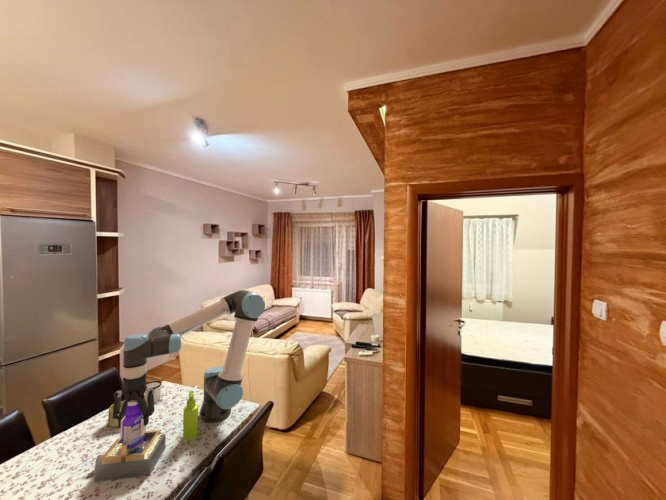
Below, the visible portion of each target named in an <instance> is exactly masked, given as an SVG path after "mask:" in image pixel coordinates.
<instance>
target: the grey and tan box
mask: <svg viewBox="0 0 666 500" xmlns="http://www.w3.org/2000/svg"><path fill="white" fill-rule="evenodd" d="M166 435H167V434H161V430H160V429H158V430H148V431H147V430H146V432H145V433H144V439H143V441H142V442H141V443H140V444H138V445H137V446H136V447H134V448H132V449H127V443H124V444H122V437H118V438H117V439H116V440H115V441H114V442H113V444H112V445H111V446H110V447H109V448H108V450H106V452H105V453H104V454H99V455H97V457H96V459H95V461H94V463H95V465H94V482H95V483H96V482H102V481H112V480H120V479H128V478H129V479H130V478H137V477H138V478H139V477H145V476H151V474H152V473H153V470H154V469H155V467H156V465H157V464H158V462H159V460H160V459H161V457H162V455H163V453H164V451H165V450H166V439H167V438H166V437H167V436H166Z"/></svg>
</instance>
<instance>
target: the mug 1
mask: <svg viewBox="0 0 666 500" xmlns="http://www.w3.org/2000/svg"><path fill="white" fill-rule="evenodd" d="M123 404H124V401H123V400H121V406H120V411H121V409H122V406H123ZM113 409H114V403H113V404H110V406H109V407H108V417H107V418H108V419H107V424H108V426H109V427H111V428H119V427H118V419H116V418H115V419H113V418H112V417H113ZM125 416H126V415H125ZM125 416H124V417H125Z"/></svg>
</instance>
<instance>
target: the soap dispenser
mask: <svg viewBox="0 0 666 500" xmlns="http://www.w3.org/2000/svg"><path fill="white" fill-rule="evenodd" d="M182 416H183V418H182V419H183V420H182V421H183V422H182V423H183V424H182V440H183V441H187V442H188V441H192V440H195V439H196V438H197V437H198V432H199V405H198V404H197V403H196V397H195V392H194V390H190V391H188V399H187V400H186V406H184V407H183V415H182Z"/></svg>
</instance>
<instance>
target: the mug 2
mask: <svg viewBox="0 0 666 500" xmlns="http://www.w3.org/2000/svg"><path fill="white" fill-rule="evenodd" d="M162 383H163V382H162V381H160V380H151V381H148V382H146V386H147V388H149V389H152V388H155V390H154V394H153V395H154V404H156V403H158V402H159V401H160V400H161V397H163V396H166V395H167V394H168V393H167V392H168V387H167V386H162ZM164 388H165V393H164V394H163V393H162V394H161V389H164ZM144 396H145V401H146V404H147V406H148V401H147V396H148V395H147V393H146V392H145V393H144Z"/></svg>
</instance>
